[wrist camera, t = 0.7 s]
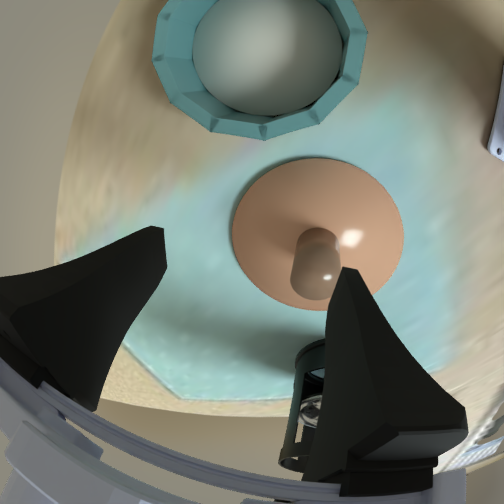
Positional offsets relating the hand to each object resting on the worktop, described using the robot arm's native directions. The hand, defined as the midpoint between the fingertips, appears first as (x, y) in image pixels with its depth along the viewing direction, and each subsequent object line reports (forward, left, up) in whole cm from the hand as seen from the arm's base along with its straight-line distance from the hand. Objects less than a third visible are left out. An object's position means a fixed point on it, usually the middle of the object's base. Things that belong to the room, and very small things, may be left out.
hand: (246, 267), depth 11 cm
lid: (-4, +4, -10) cm, 11 cm away
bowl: (+2, -9, -10) cm, 13 cm away
